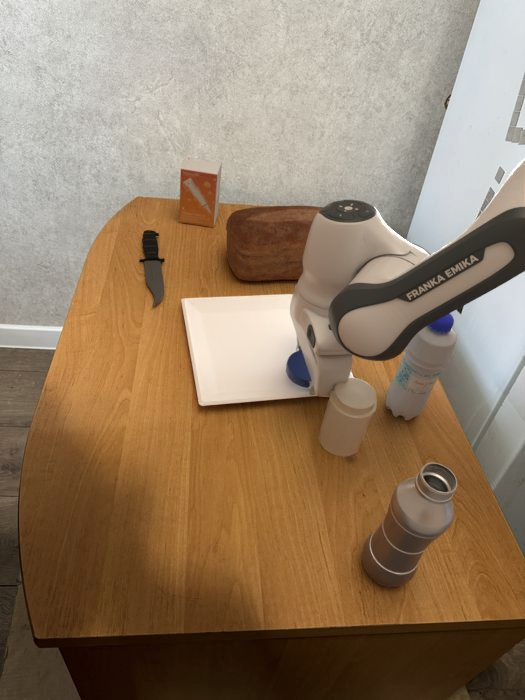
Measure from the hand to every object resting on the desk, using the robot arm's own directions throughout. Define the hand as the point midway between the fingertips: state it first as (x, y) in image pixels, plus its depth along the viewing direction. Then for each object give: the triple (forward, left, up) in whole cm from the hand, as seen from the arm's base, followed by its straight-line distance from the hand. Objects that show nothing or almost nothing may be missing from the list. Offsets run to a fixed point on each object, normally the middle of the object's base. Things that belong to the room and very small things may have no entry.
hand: (307, 372), depth 86 cm
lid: (0, 0, +1) cm, 1 cm away
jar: (-5, +11, -2) cm, 12 cm away
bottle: (-16, +4, -3) cm, 17 cm away
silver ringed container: (-9, +31, -3) cm, 32 cm away
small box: (+23, -49, -3) cm, 54 cm away
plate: (+7, -7, -3) cm, 10 cm away
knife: (+30, -27, -3) cm, 40 cm away
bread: (+2, -34, -3) cm, 34 cm away
